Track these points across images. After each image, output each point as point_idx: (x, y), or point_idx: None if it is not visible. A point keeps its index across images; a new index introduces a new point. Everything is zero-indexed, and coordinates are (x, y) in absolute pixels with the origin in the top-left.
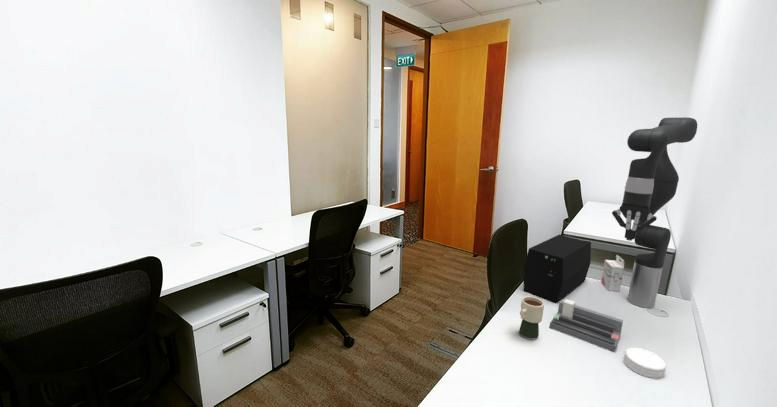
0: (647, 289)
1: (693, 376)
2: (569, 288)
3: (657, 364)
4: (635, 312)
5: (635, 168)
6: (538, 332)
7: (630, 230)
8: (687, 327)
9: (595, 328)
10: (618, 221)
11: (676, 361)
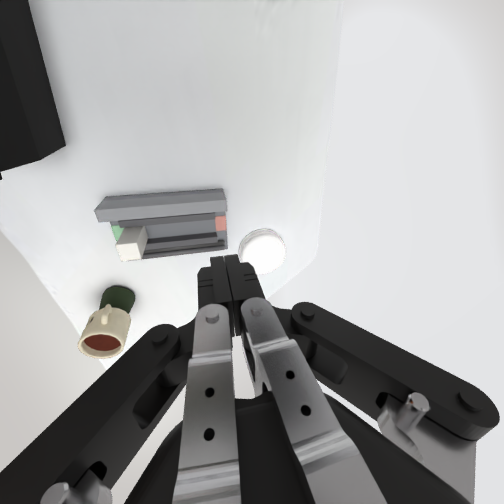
0: None
1: (311, 223)
2: (28, 40)
3: (277, 259)
4: (227, 20)
5: None
6: (131, 297)
7: (234, 335)
8: (333, 21)
9: (192, 243)
10: (134, 415)
11: (297, 202)
